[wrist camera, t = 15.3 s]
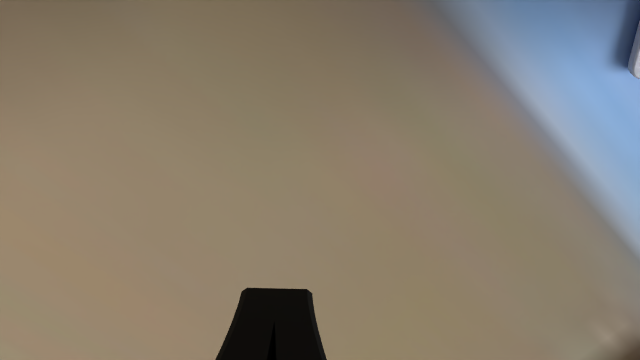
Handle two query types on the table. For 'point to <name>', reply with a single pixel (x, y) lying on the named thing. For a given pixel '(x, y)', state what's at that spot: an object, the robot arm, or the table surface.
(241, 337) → the robot arm
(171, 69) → the table surface
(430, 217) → the table surface
